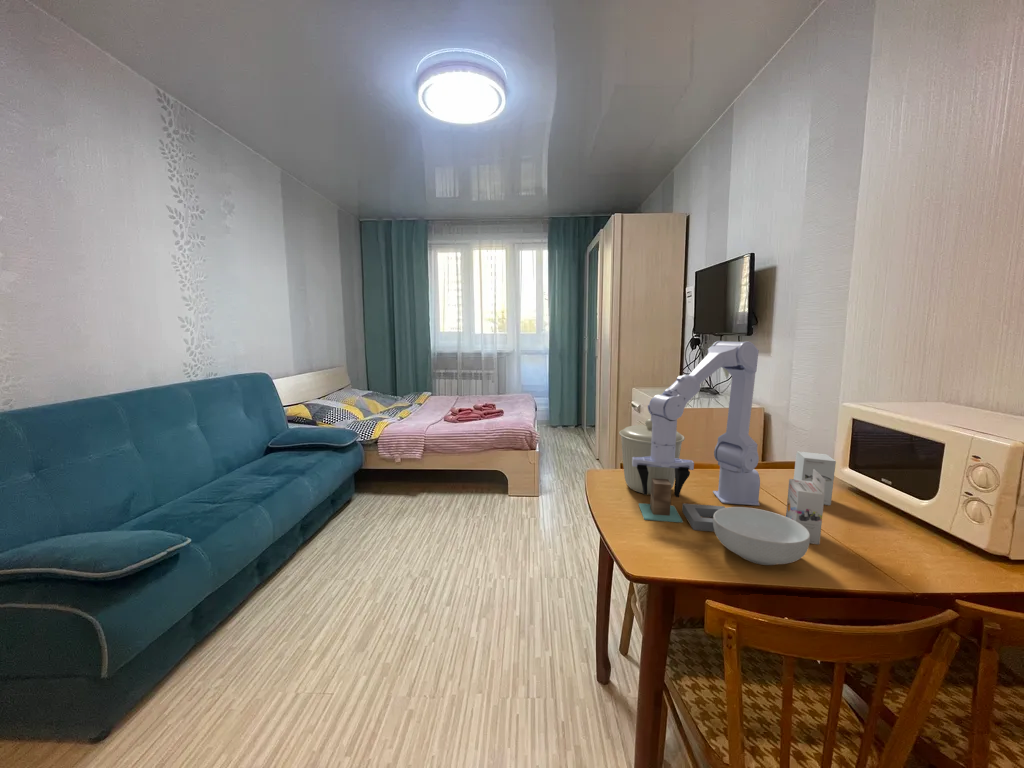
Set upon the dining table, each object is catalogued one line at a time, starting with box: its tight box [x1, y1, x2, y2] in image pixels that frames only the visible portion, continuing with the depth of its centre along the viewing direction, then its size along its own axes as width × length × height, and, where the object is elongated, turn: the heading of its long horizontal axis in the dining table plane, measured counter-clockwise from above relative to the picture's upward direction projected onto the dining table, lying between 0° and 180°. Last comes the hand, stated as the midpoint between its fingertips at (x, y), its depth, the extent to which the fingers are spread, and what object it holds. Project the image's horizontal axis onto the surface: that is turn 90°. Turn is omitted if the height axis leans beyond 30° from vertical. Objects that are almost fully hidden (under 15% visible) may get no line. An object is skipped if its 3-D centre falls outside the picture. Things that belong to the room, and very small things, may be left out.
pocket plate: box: [681, 503, 726, 533], centre depth 98 cm, size 10×10×2 cm
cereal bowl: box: [712, 506, 810, 566], centre depth 83 cm, size 17×17×7 cm
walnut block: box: [649, 478, 672, 516], centre depth 102 cm, size 4×4×8 cm
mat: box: [638, 502, 684, 524], centre depth 103 cm, size 9×9×1 cm
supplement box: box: [793, 450, 837, 506], centre depth 112 cm, size 7×7×13 cm
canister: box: [618, 418, 686, 495], centre depth 118 cm, size 18×18×21 cm
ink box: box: [785, 469, 826, 545], centre depth 91 cm, size 8×5×15 cm, turn 158°
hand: (660, 494), depth 102 cm, fingers open, 7 cm apart
